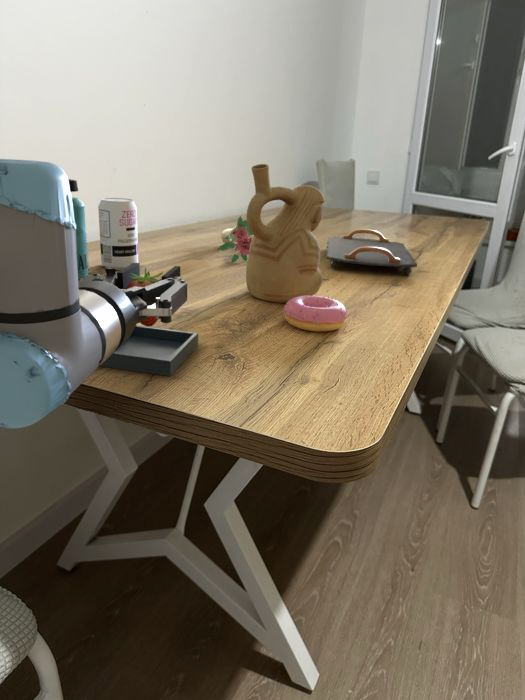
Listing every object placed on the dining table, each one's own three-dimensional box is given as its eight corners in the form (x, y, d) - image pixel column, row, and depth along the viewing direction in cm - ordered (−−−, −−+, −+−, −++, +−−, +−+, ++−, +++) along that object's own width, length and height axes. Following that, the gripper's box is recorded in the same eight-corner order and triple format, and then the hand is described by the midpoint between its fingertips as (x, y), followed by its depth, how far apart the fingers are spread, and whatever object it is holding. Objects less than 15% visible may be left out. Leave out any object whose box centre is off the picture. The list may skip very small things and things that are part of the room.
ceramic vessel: (341, 297, 106) (356, 169, 97) (274, 313, 93) (285, 167, 84) (281, 279, 117) (290, 163, 108) (214, 292, 104) (218, 160, 95)
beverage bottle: (56, 278, 107) (47, 176, 99) (90, 278, 109) (83, 178, 101) (54, 287, 101) (45, 179, 93) (90, 286, 103) (83, 181, 96)
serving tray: (418, 279, 126) (423, 253, 124) (323, 270, 128) (326, 245, 126) (400, 250, 162) (403, 230, 160) (326, 244, 164) (328, 224, 162)
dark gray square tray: (89, 364, 68) (88, 350, 67) (127, 336, 78) (126, 323, 77) (170, 376, 66) (170, 361, 65) (198, 346, 76) (198, 332, 75)
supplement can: (109, 261, 124) (106, 196, 118) (143, 264, 123) (141, 199, 118) (95, 268, 116) (91, 200, 111) (131, 271, 116) (129, 202, 110)
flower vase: (239, 271, 155) (267, 272, 122) (201, 258, 152) (218, 256, 118) (251, 233, 154) (282, 224, 121) (212, 219, 151) (233, 205, 117)
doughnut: (359, 328, 88) (362, 305, 87) (310, 338, 82) (312, 313, 81) (317, 311, 96) (319, 289, 95) (269, 319, 90) (271, 295, 89)
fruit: (146, 334, 67) (145, 274, 64) (118, 326, 69) (115, 267, 67) (174, 325, 71) (174, 267, 68) (146, 317, 74) (145, 261, 71)
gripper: (5, 351, 54) (96, 294, 75) (176, 368, 52) (220, 304, 74) (-5, 281, 51) (93, 242, 73) (176, 296, 49) (221, 252, 71)
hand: (157, 273), depth 73 cm, fingers closed on fruit, 5 cm apart
